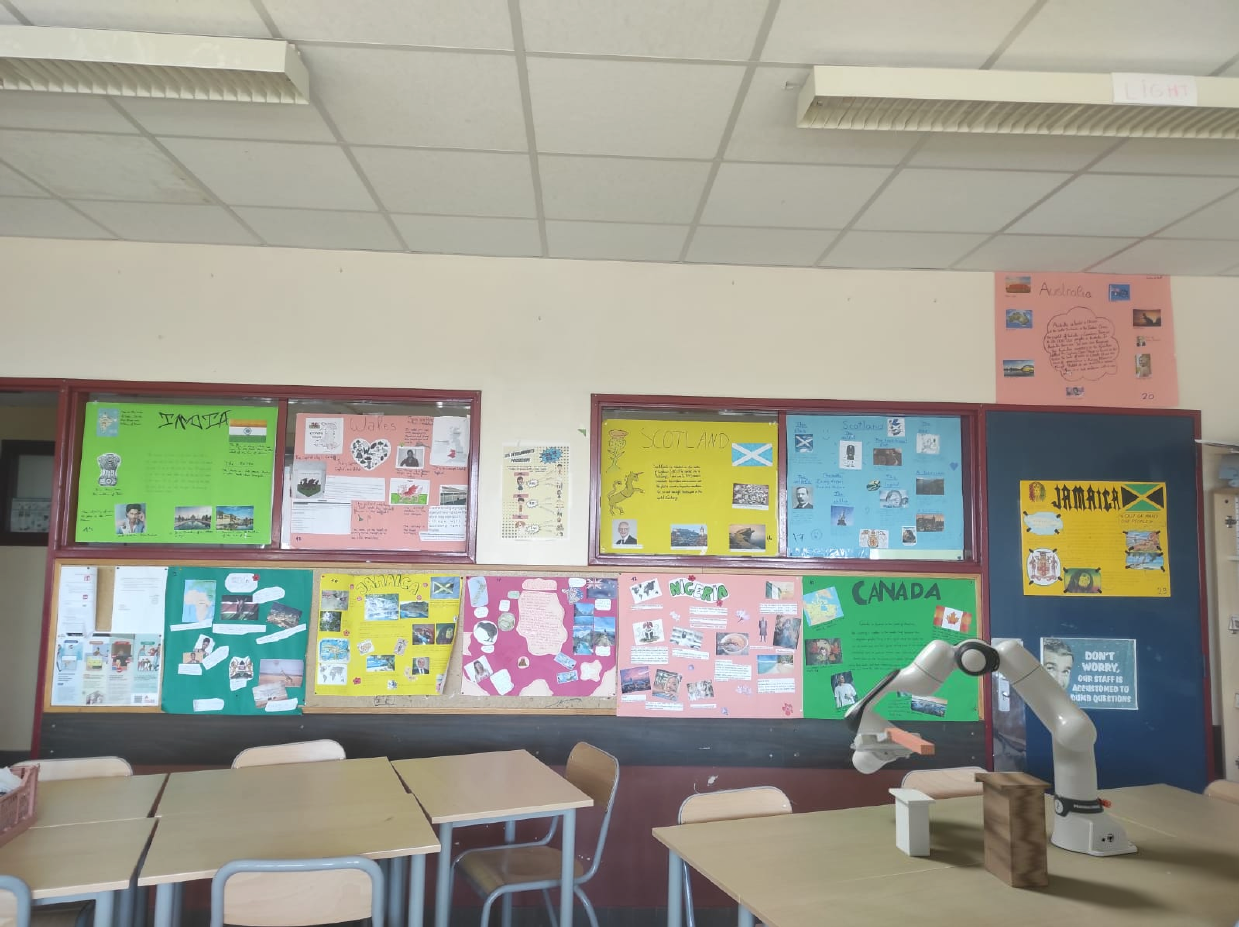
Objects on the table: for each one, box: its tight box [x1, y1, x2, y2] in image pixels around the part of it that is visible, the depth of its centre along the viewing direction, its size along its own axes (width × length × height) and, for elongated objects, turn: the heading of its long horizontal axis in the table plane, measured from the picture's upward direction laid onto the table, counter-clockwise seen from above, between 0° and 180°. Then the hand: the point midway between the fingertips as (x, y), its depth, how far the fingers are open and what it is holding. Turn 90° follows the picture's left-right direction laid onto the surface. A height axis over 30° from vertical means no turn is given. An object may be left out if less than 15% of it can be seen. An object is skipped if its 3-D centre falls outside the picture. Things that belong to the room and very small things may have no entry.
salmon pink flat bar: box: [885, 727, 936, 755], centre depth 238 cm, size 4×22×2 cm, turn 7°
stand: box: [888, 787, 936, 857], centre depth 235 cm, size 8×12×16 cm, turn 7°
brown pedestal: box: [973, 771, 1052, 888], centre depth 217 cm, size 14×13×25 cm
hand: (897, 733), depth 245 cm, fingers closed on salmon pink flat bar, 4 cm apart
